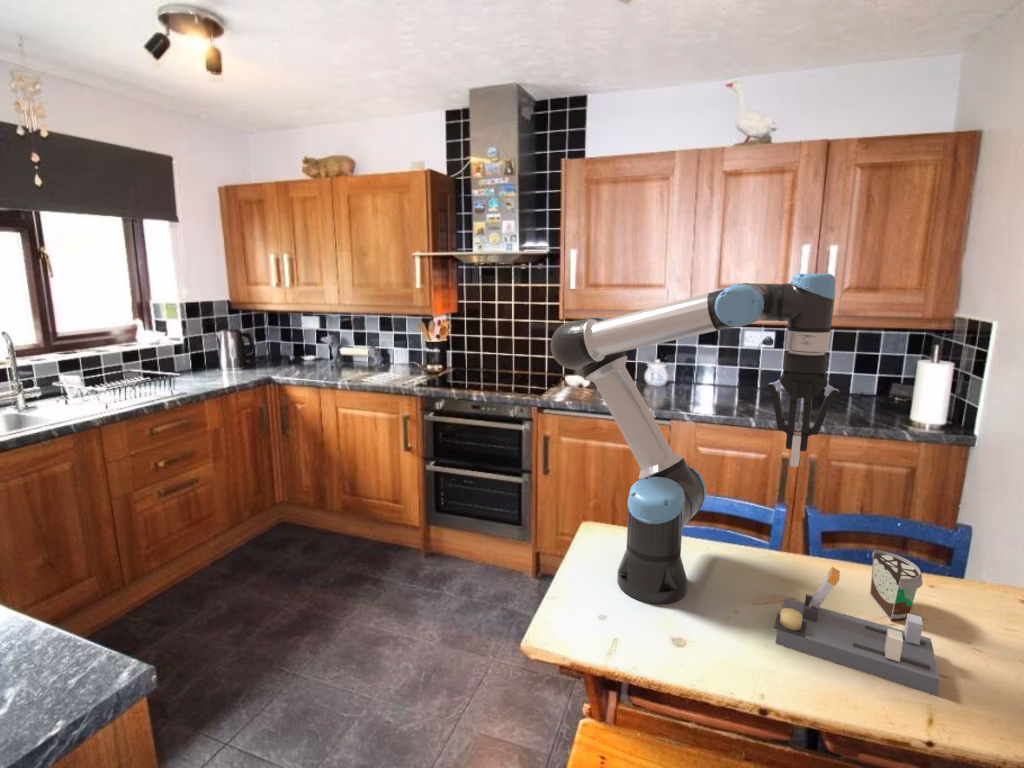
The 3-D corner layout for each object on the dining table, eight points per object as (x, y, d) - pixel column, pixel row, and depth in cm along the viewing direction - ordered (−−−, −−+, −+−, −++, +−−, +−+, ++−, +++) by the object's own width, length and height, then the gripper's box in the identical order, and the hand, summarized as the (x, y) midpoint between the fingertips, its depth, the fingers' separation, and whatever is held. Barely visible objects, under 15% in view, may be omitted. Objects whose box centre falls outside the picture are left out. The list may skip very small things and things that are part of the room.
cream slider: (885, 657, 91) (888, 637, 90) (884, 648, 94) (887, 628, 93) (899, 662, 90) (902, 641, 89) (898, 652, 92) (901, 632, 92)
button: (778, 626, 100) (779, 615, 99) (781, 616, 102) (782, 605, 102) (800, 632, 98) (801, 622, 97) (802, 622, 101) (803, 612, 100)
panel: (772, 642, 100) (775, 618, 99) (779, 609, 110) (782, 586, 109) (936, 695, 87) (941, 668, 86) (928, 652, 97) (932, 627, 96)
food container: (929, 630, 103) (937, 583, 101) (894, 625, 105) (901, 580, 103) (898, 593, 115) (904, 551, 113) (866, 590, 116) (872, 548, 115)
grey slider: (905, 641, 95) (908, 621, 94) (904, 632, 98) (907, 613, 97) (919, 645, 94) (922, 625, 93) (917, 636, 97) (921, 616, 96)
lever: (805, 612, 103) (831, 575, 99) (806, 603, 106) (832, 566, 102) (813, 617, 102) (839, 580, 98) (814, 607, 105) (839, 570, 102)
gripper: (767, 352, 106) (757, 464, 111) (844, 357, 99) (830, 476, 104) (772, 348, 112) (762, 454, 117) (844, 352, 105) (831, 465, 110)
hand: (794, 464), depth 110 cm, fingers closed
